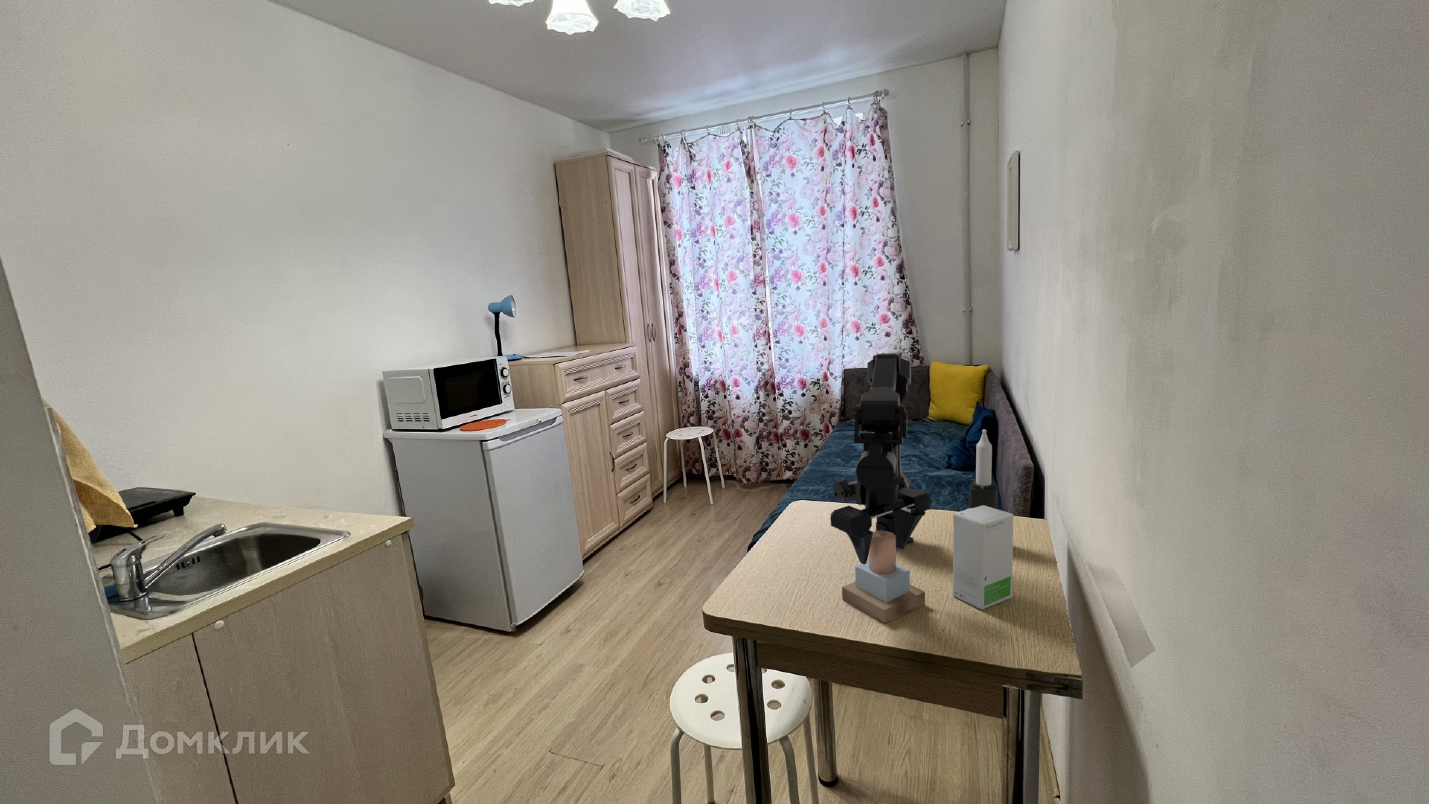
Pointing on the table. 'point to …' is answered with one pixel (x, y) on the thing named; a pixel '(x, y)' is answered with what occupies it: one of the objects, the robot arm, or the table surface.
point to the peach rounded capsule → (882, 553)
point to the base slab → (880, 608)
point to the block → (883, 582)
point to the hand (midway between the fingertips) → (882, 556)
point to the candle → (983, 477)
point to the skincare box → (982, 556)
